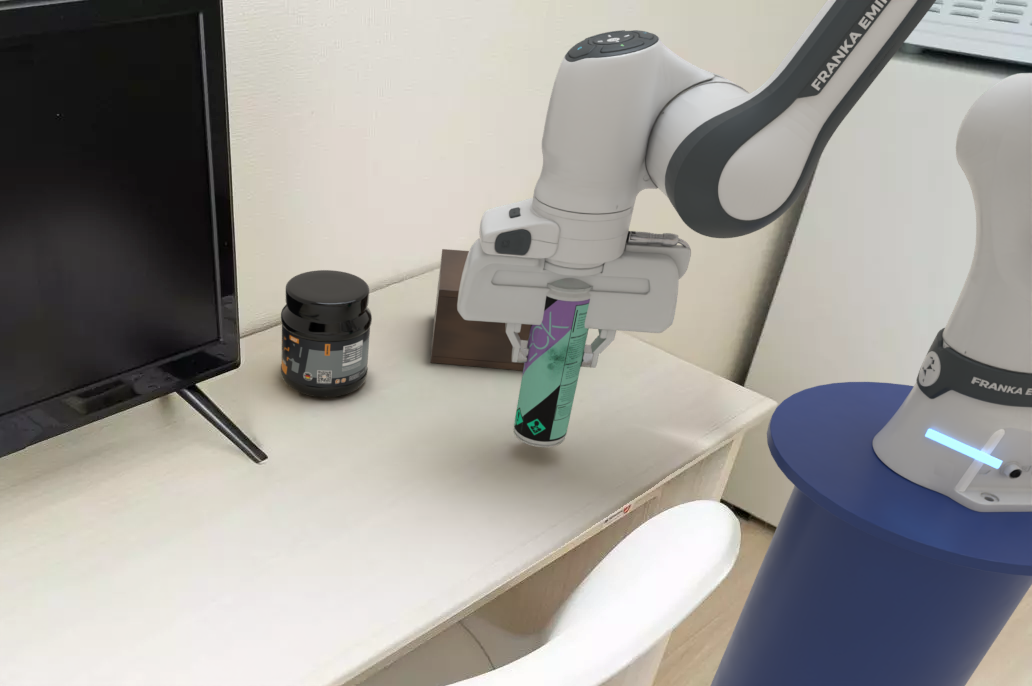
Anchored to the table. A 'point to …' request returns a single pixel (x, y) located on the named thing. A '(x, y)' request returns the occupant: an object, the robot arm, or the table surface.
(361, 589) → the table surface
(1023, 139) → the robot arm
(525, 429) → the spray can
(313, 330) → the supplement container
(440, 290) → the cabinet
